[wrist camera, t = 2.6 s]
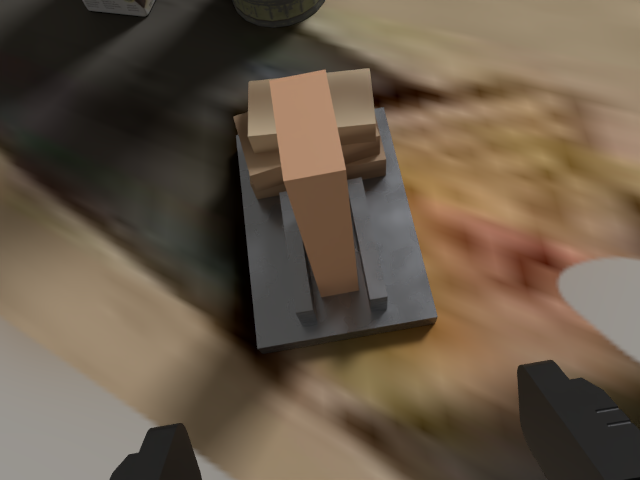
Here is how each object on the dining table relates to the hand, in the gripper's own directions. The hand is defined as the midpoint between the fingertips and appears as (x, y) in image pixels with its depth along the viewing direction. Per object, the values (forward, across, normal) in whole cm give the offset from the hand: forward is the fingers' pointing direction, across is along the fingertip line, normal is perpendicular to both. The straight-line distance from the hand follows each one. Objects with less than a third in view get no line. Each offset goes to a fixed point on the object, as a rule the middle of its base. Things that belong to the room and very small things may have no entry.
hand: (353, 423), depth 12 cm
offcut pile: (+26, 0, -1) cm, 26 cm away
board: (+21, 0, +4) cm, 21 cm away
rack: (+24, 0, +3) cm, 24 cm away
